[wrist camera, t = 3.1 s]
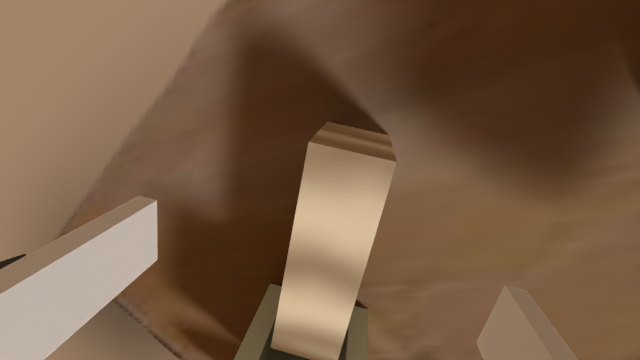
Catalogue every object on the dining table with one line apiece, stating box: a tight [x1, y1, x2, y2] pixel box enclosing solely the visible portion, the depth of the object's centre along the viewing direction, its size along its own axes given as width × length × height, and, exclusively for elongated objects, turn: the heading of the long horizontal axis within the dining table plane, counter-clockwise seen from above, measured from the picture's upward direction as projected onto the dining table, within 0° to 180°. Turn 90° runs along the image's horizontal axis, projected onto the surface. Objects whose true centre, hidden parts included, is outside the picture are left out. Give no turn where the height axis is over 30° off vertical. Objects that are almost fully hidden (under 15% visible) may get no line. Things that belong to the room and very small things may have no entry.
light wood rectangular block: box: [271, 121, 397, 360], centre depth 23 cm, size 16×5×8 cm, turn 169°
